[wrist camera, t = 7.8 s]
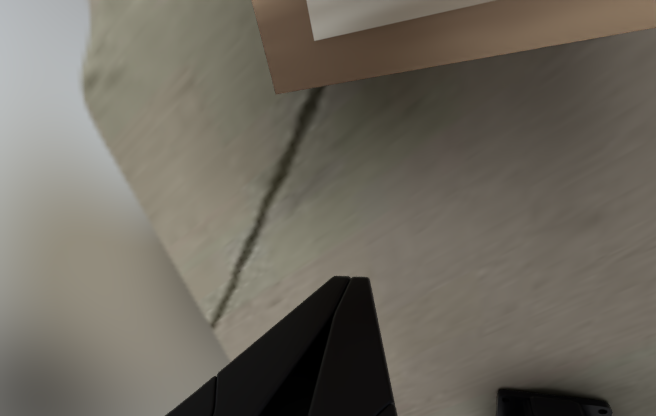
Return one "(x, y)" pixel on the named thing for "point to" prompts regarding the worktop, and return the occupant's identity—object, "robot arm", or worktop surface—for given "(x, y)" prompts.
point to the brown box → (423, 33)
